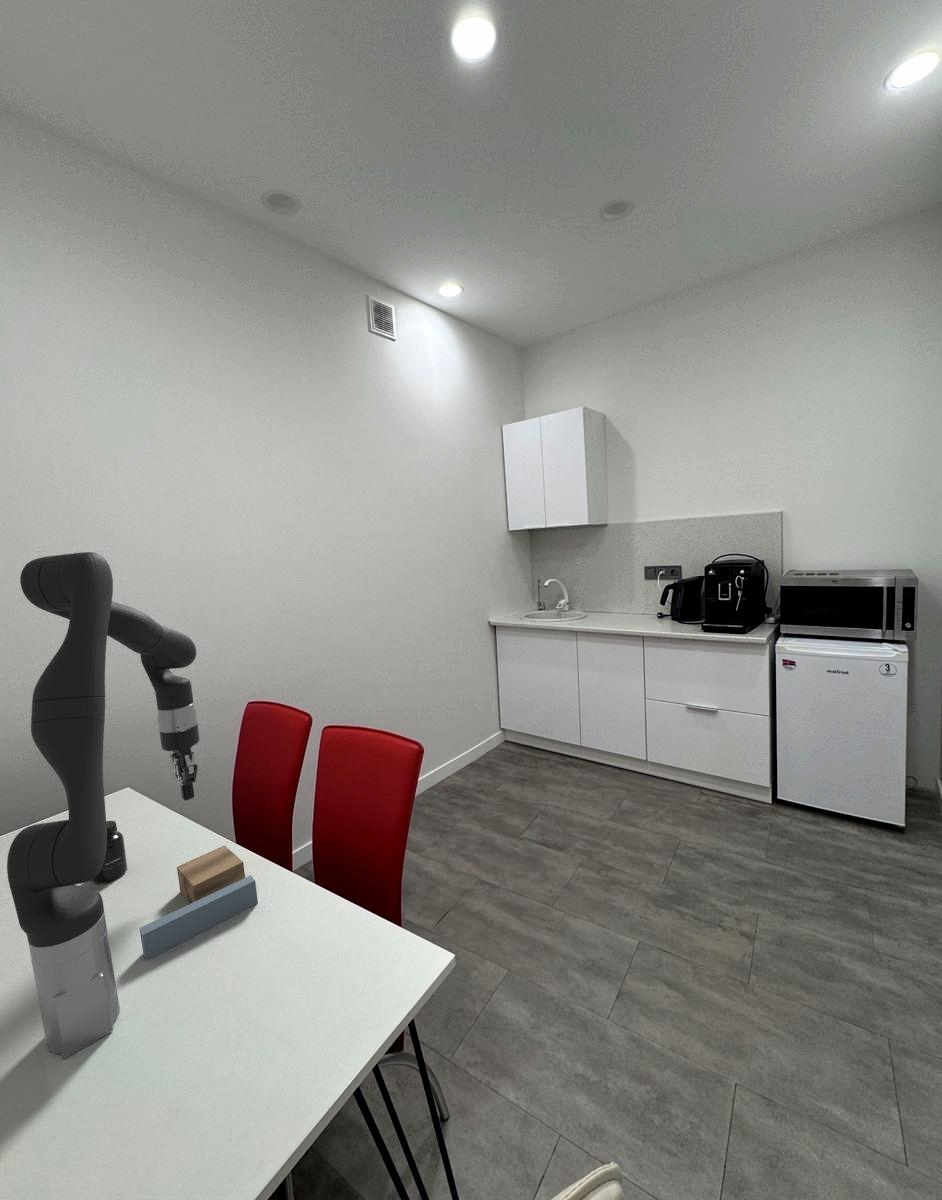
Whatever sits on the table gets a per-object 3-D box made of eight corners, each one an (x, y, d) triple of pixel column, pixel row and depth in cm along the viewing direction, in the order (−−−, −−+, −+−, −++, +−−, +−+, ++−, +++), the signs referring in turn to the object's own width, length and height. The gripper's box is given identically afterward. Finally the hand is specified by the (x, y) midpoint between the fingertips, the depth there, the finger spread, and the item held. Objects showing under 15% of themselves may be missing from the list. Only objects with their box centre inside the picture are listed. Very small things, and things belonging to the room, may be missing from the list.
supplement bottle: (114, 884, 117) (106, 833, 116) (84, 885, 117) (76, 835, 116) (134, 865, 124) (127, 817, 123) (106, 866, 124) (98, 818, 123)
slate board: (257, 903, 108) (255, 880, 107) (146, 960, 94) (142, 934, 94) (253, 897, 110) (250, 875, 109) (143, 953, 96) (139, 927, 96)
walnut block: (246, 887, 113) (243, 861, 113) (197, 913, 106) (193, 886, 105) (227, 869, 120) (224, 845, 119) (180, 892, 113) (176, 866, 112)
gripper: (152, 723, 119) (162, 795, 122) (167, 737, 110) (178, 815, 112) (188, 714, 124) (197, 783, 127) (205, 726, 115) (215, 801, 117)
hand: (188, 798), depth 119 cm, fingers closed
